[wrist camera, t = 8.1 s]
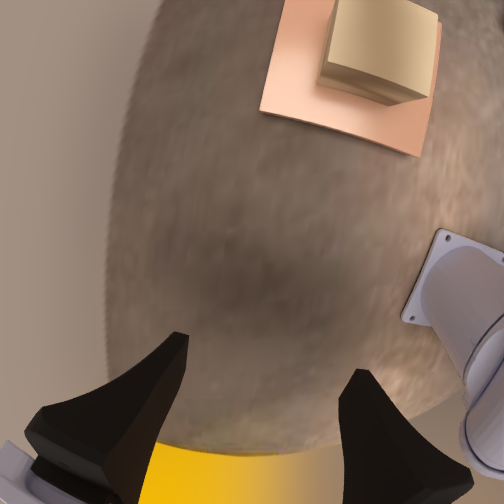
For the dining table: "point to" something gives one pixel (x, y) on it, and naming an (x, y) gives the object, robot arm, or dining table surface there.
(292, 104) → the riser
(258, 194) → the dining table surface
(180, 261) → the dining table surface
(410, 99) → the beech block
